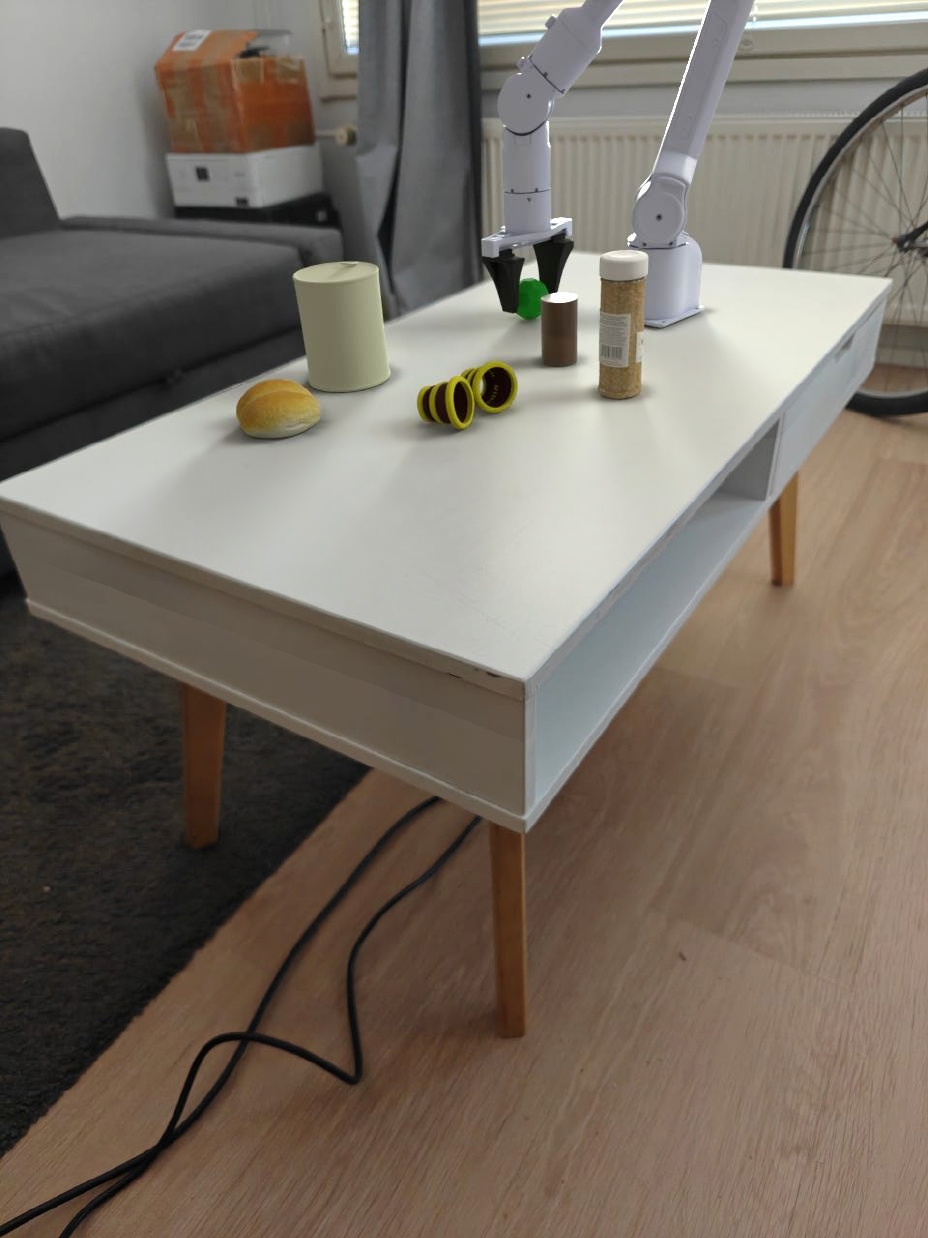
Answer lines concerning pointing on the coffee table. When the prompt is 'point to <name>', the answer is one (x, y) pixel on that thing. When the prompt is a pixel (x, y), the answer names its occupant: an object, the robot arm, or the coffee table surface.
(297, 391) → the bread roll
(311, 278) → the can
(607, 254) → the sprinkles bottle
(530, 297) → the polyhedron
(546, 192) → the robot arm
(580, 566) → the coffee table surface
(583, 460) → the coffee table surface
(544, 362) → the walnut peg
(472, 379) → the opera glasses
